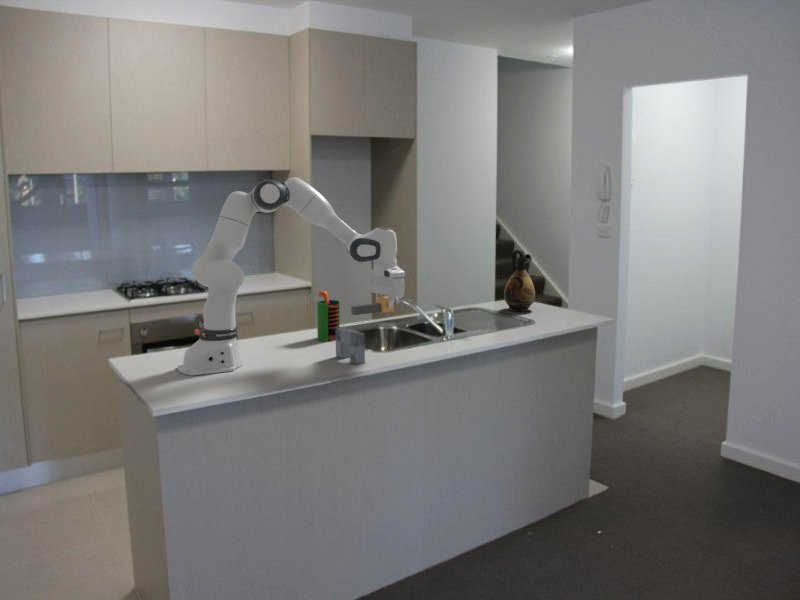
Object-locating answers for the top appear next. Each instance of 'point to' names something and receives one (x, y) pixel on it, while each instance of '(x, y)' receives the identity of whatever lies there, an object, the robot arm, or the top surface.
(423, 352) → the top surface
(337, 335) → the grey u-shaped block
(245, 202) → the robot arm
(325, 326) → the motor
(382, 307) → the plug
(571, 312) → the top surface
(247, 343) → the top surface
